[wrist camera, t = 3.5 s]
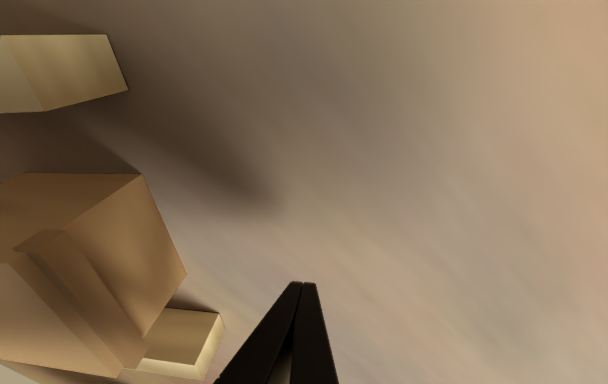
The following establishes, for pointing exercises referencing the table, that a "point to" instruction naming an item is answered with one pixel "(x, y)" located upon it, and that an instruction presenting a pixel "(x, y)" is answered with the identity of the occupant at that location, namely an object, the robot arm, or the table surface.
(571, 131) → the table surface
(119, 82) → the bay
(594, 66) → the table surface
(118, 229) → the box
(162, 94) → the table surface
